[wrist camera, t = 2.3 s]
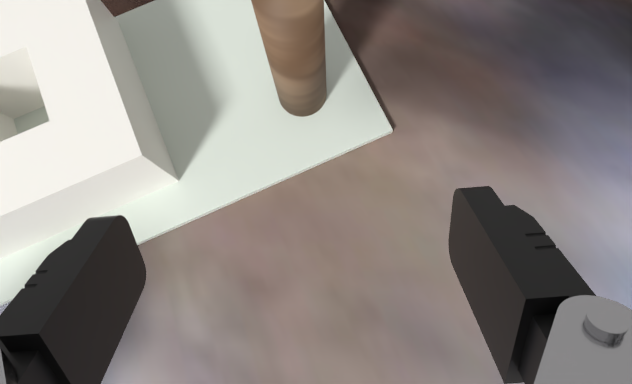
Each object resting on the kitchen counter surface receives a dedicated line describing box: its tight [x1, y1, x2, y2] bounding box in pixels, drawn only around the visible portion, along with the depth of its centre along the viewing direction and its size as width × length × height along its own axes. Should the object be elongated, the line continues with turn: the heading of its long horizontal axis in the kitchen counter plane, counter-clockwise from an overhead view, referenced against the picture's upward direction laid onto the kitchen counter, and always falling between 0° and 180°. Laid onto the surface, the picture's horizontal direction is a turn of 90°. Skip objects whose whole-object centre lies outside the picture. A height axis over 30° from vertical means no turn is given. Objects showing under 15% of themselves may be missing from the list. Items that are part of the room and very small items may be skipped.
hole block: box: [0, 0, 179, 259], centre depth 24 cm, size 12×12×5 cm
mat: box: [0, 0, 393, 306], centre depth 27 cm, size 26×15×1 cm, turn 114°
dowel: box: [251, 0, 327, 117], centre depth 21 cm, size 3×3×10 cm
